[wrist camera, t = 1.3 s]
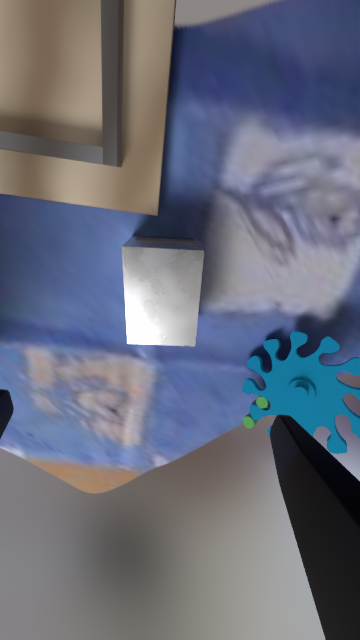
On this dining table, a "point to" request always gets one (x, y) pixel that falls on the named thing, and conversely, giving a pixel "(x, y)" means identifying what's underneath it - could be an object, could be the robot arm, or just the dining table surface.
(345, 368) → the gear
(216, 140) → the dining table surface
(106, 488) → the dining table surface
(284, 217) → the dining table surface
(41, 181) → the dock
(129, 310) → the block
